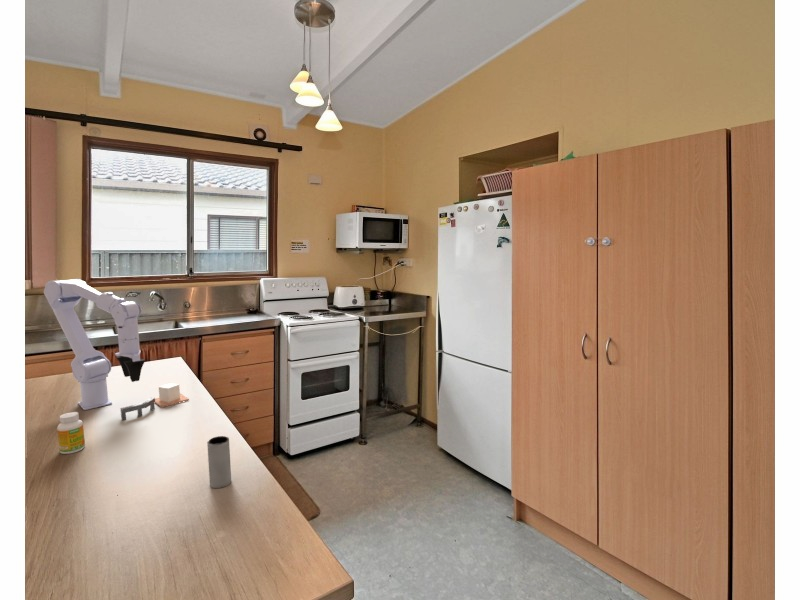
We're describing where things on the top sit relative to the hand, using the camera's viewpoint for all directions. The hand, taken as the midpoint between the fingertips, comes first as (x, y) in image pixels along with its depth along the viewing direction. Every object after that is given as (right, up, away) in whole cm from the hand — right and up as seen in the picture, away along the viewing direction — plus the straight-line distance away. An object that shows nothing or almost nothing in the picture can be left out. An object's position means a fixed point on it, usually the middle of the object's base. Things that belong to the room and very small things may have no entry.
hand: (131, 378), depth 141 cm
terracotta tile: (+8, -9, +9) cm, 15 cm away
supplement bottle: (+2, -14, -27) cm, 31 cm away
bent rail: (+5, -11, -3) cm, 12 cm away
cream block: (+8, -9, +8) cm, 15 cm away
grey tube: (+48, -16, -44) cm, 67 cm away
